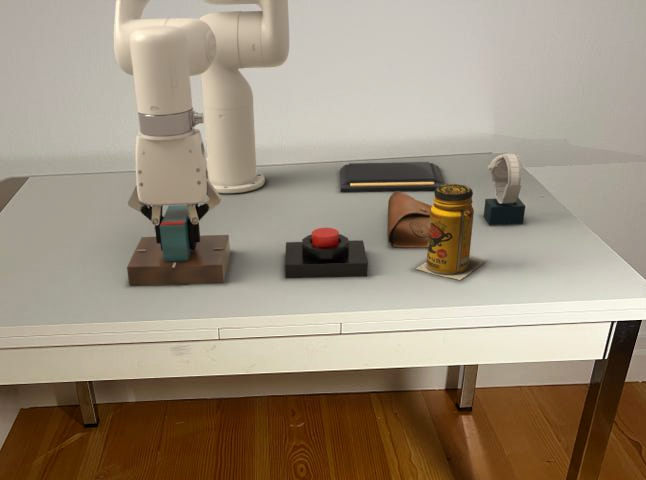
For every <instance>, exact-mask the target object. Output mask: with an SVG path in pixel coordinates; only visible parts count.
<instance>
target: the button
mask: <svg viewBox="0 0 646 480" xmlns="http://www.w3.org/2000/svg"><path fill="white" fill-rule="evenodd" d="M339 234H340V231H339V230H338V229H336V228H332V227H318V228H315V229H314V230H312V231H311V235H312V244H313V245H315V246H320V247H330V246H335V245H338V244H339Z"/></svg>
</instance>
